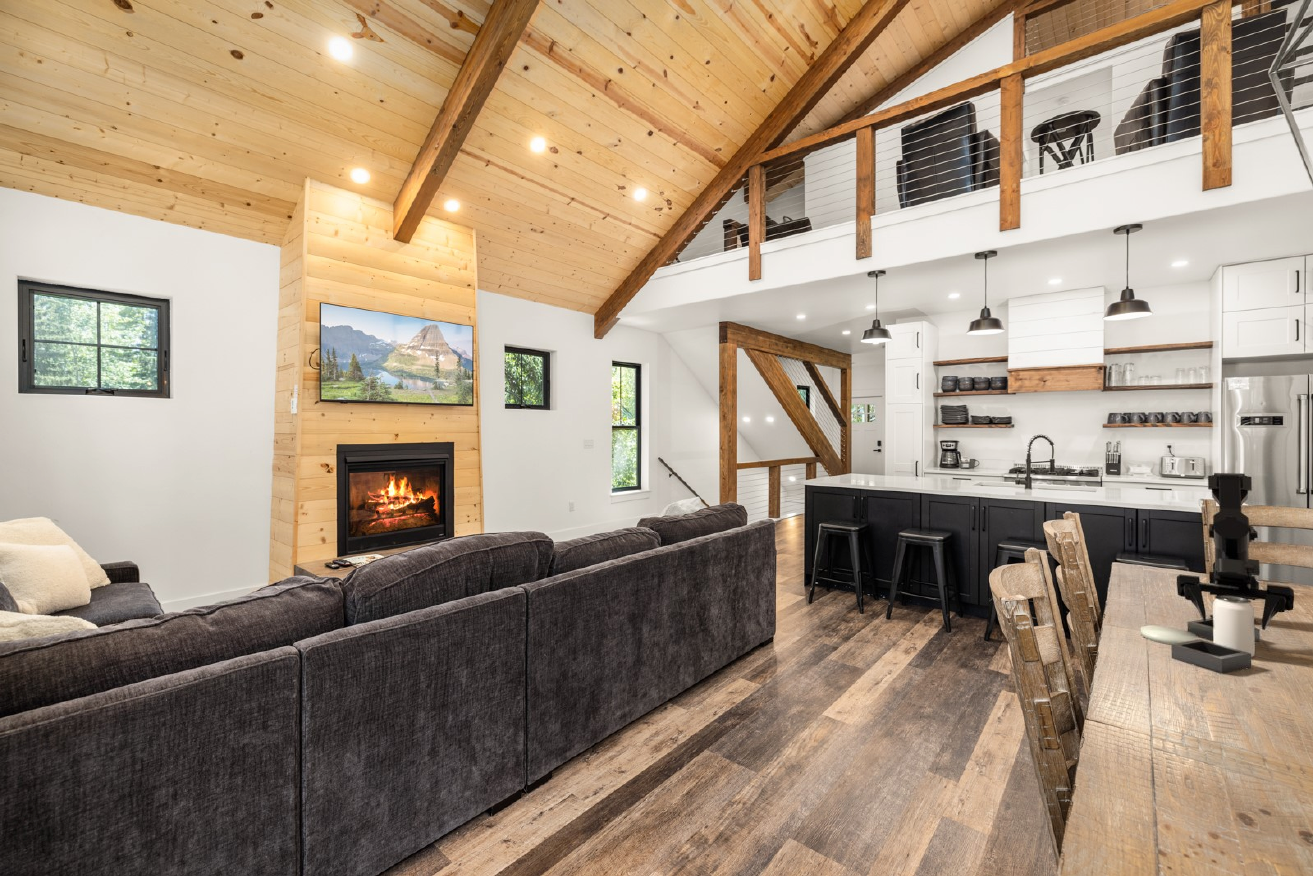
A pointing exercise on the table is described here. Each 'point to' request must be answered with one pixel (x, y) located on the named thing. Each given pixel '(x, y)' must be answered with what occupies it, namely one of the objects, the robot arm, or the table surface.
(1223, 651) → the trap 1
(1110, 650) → the table surface
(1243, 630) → the can
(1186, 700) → the table surface
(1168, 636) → the pad
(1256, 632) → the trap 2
